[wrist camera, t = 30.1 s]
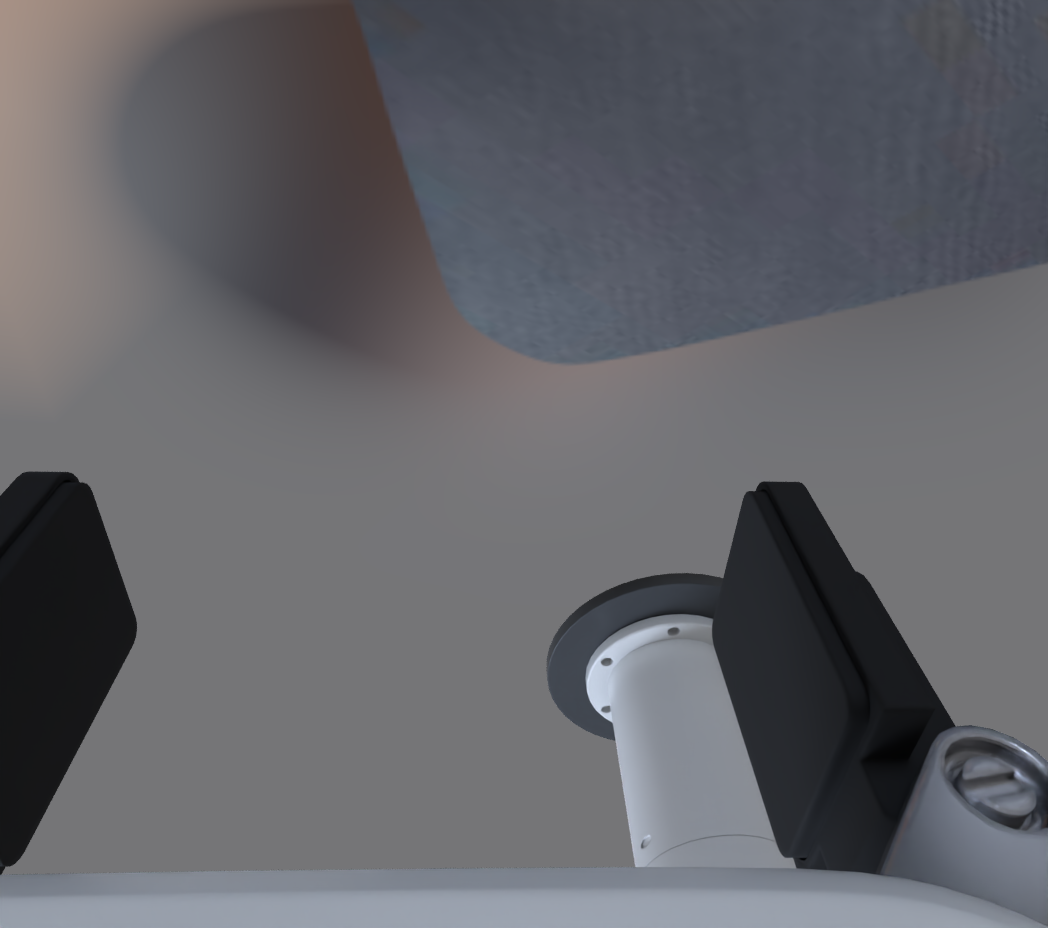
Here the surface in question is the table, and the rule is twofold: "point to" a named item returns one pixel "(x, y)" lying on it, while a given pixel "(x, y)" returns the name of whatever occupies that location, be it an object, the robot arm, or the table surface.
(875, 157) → the table surface
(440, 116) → the table surface
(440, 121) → the table surface
